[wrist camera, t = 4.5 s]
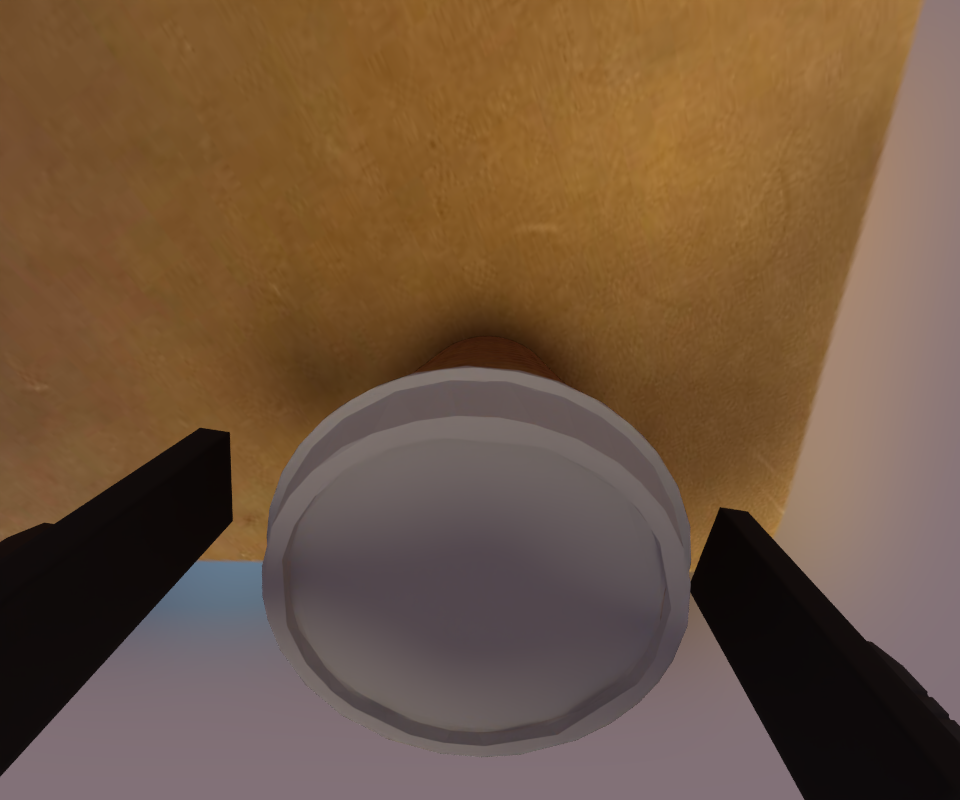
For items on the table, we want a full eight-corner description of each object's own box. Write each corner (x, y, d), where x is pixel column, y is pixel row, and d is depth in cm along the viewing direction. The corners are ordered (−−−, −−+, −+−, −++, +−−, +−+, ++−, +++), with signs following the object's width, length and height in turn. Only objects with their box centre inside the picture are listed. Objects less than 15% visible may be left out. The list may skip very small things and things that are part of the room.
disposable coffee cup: (420, 515, 23) (342, 795, 11) (350, 331, 20) (148, 462, 8) (612, 472, 21) (739, 736, 10) (569, 268, 18) (682, 321, 7)
